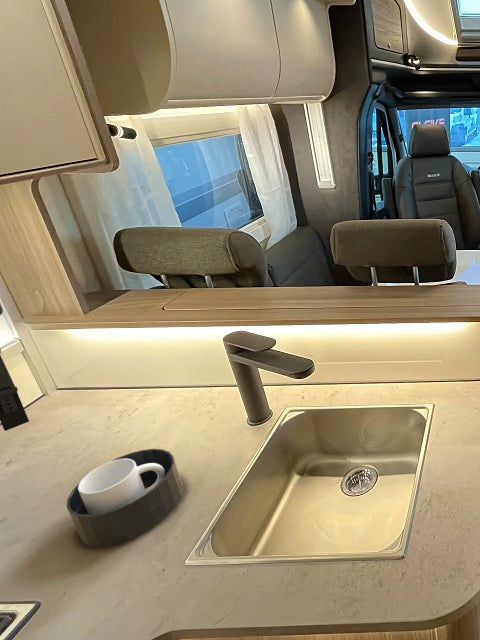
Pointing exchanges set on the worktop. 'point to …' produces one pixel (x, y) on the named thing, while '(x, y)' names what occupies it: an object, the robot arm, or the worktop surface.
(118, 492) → the mug
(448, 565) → the worktop surface
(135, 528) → the pot
